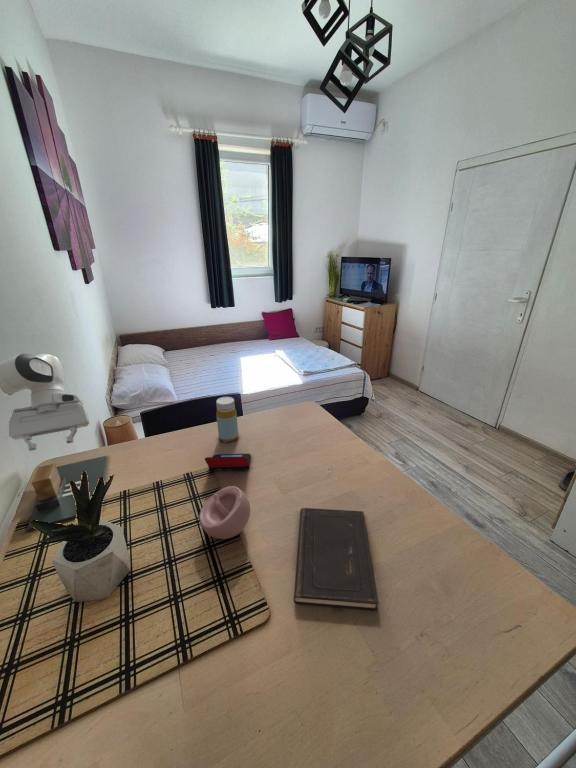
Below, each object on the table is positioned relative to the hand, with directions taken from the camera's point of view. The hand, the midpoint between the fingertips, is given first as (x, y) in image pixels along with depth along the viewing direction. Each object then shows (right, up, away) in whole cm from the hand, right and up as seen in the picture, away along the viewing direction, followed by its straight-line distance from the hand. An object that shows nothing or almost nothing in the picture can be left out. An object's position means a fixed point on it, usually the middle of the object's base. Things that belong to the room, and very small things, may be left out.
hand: (51, 446), depth 97 cm
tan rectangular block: (+5, -12, -7) cm, 15 cm away
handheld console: (+52, -8, +6) cm, 53 cm away
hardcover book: (+81, -20, -24) cm, 87 cm away
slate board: (+9, -12, -3) cm, 15 cm away
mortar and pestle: (+56, -17, -17) cm, 61 cm away
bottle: (+49, -1, +21) cm, 54 cm away
